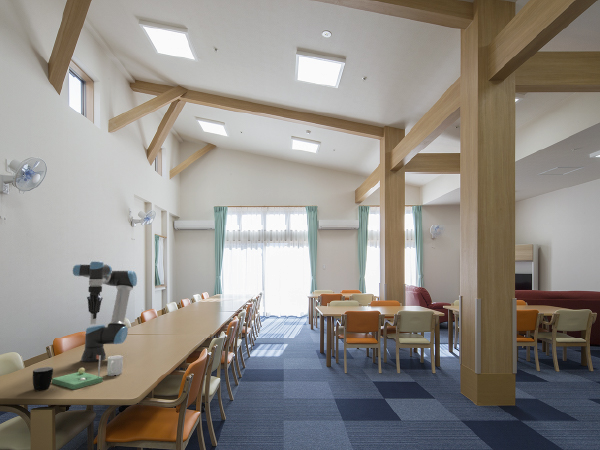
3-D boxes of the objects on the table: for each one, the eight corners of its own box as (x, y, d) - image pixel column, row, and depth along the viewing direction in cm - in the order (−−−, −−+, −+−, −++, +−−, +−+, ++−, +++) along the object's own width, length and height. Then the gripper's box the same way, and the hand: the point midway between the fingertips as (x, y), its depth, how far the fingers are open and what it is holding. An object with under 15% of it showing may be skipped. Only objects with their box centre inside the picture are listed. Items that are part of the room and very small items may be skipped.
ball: (77, 380, 209) (81, 376, 208) (82, 380, 211) (86, 376, 211) (78, 385, 206) (82, 381, 206) (83, 385, 209) (87, 381, 209)
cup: (123, 371, 233) (124, 355, 234) (117, 377, 221) (118, 359, 222) (109, 372, 232) (110, 355, 233) (102, 378, 220) (103, 360, 221)
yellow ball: (76, 374, 219) (77, 368, 219) (82, 372, 222) (83, 366, 222) (80, 374, 217) (80, 368, 218) (85, 373, 220) (86, 367, 221)
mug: (35, 386, 204) (36, 367, 205) (54, 385, 206) (55, 366, 207) (26, 394, 192) (27, 373, 193) (46, 392, 195) (47, 372, 196)
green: (51, 383, 210) (53, 356, 212) (80, 375, 224) (82, 350, 226) (73, 389, 199) (75, 361, 201) (102, 381, 213) (103, 355, 215)
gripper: (83, 285, 237) (81, 323, 234) (95, 286, 230) (93, 325, 228) (95, 285, 243) (92, 322, 241) (107, 285, 237) (105, 324, 234)
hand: (93, 323), depth 234 cm, fingers closed
